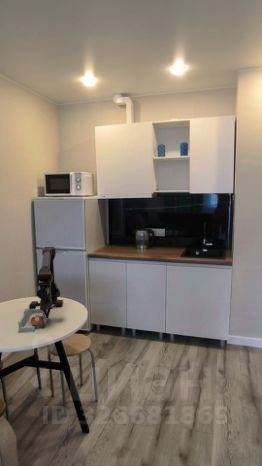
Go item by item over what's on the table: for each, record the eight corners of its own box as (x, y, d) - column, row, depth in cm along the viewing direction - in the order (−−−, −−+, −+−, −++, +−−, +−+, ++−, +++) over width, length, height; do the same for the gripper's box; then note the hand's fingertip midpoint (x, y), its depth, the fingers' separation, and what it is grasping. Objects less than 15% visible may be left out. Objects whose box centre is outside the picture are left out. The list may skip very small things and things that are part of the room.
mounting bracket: (30, 312, 199) (29, 302, 198) (43, 312, 200) (42, 301, 199) (19, 332, 173) (18, 320, 172) (34, 331, 174) (33, 319, 173)
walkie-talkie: (48, 328, 178) (45, 314, 197) (47, 321, 177) (45, 308, 196) (31, 331, 175) (31, 317, 194) (31, 323, 174) (30, 310, 193)
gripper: (26, 298, 176) (28, 325, 178) (60, 296, 177) (61, 323, 180) (30, 291, 187) (32, 316, 189) (62, 290, 188) (64, 315, 191)
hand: (47, 318), depth 187 cm, fingers closed
